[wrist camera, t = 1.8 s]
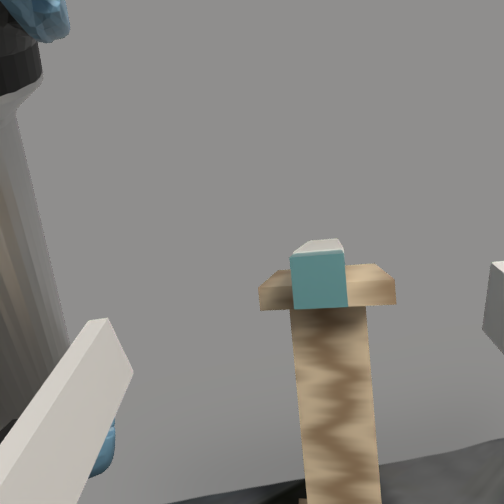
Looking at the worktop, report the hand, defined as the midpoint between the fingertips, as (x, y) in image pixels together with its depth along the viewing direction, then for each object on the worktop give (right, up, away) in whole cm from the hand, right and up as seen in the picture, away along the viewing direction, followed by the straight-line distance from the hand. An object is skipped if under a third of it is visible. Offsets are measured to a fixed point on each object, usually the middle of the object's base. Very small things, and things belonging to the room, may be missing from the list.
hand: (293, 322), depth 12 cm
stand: (+9, -30, +24) cm, 39 cm away
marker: (+5, 0, +17) cm, 18 cm away
